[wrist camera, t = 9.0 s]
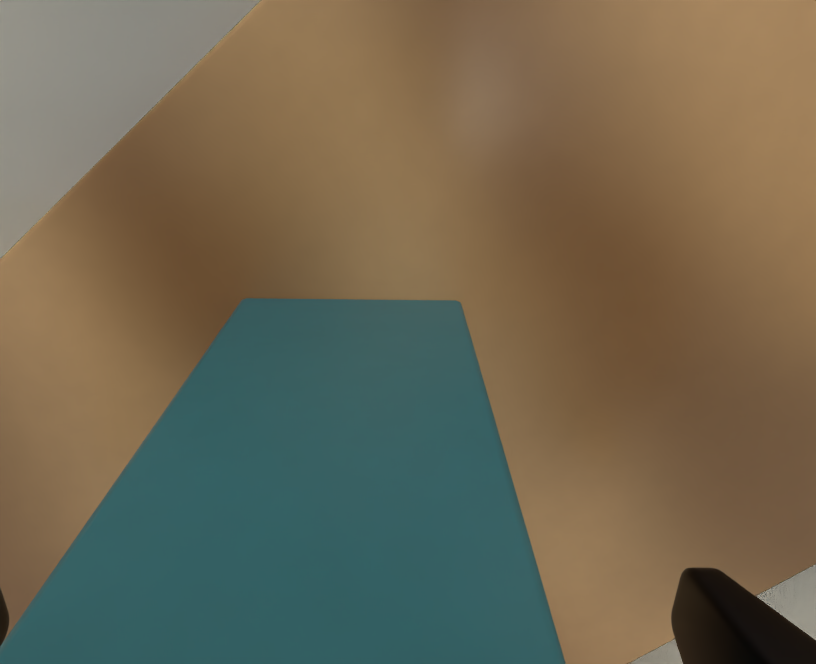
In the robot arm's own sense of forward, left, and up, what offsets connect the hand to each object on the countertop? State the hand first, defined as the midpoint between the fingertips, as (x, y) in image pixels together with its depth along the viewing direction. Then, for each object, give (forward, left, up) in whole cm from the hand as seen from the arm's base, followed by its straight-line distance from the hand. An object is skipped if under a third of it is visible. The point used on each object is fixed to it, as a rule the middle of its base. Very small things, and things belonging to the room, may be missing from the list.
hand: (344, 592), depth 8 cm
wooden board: (0, 0, -2) cm, 2 cm away
